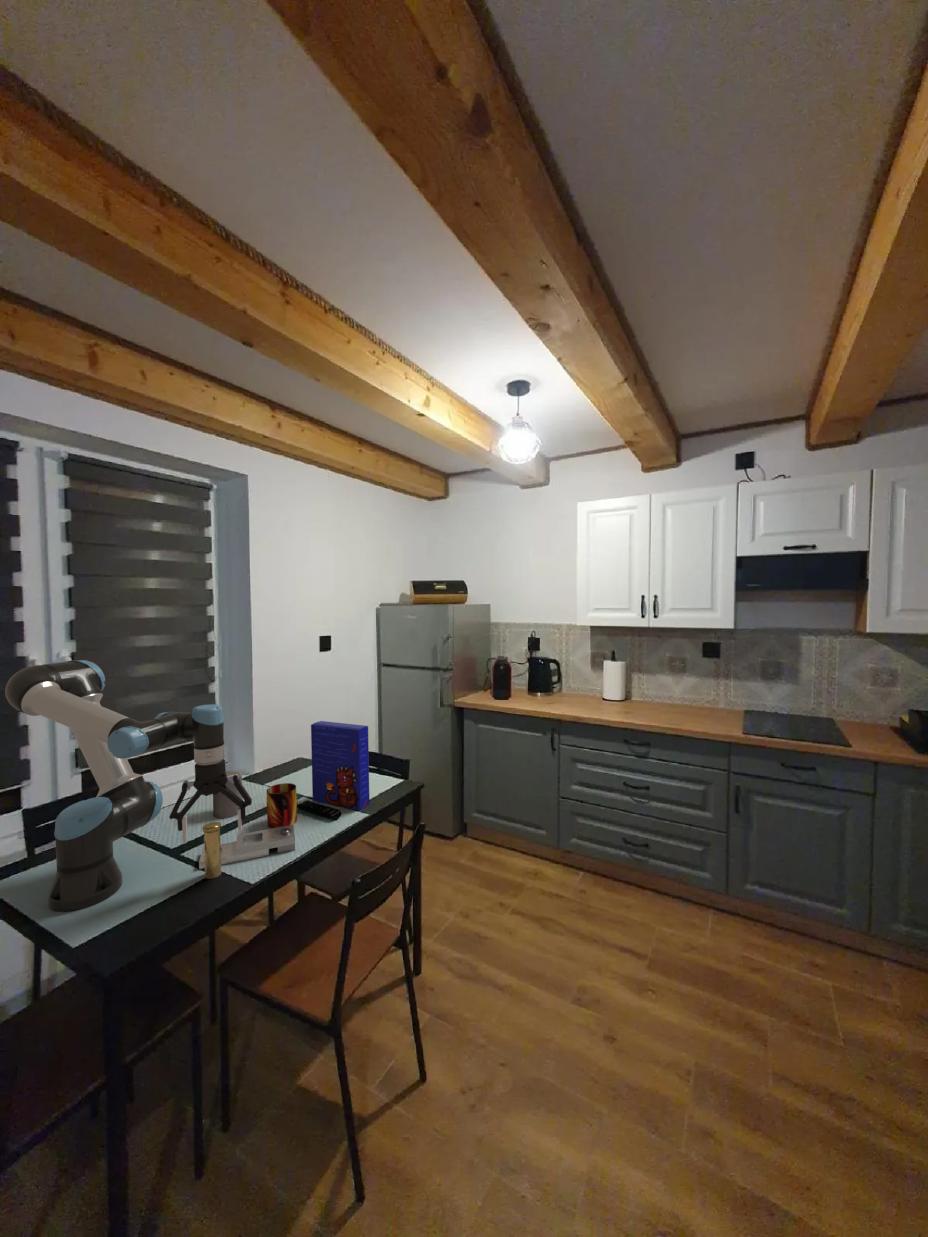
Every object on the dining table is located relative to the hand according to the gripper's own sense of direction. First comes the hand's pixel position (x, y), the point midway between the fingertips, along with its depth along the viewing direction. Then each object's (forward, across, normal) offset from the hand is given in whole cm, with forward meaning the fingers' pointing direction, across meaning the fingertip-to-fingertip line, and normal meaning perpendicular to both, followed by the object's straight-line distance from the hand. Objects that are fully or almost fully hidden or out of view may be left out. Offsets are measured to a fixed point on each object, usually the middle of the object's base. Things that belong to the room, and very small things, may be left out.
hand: (213, 835), depth 132 cm
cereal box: (+12, +40, +34) cm, 54 cm away
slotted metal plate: (+11, +10, +9) cm, 17 cm away
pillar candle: (+11, 0, +42) cm, 44 cm away
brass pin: (+11, 0, 0) cm, 11 cm away
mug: (+11, +20, +24) cm, 33 cm away
